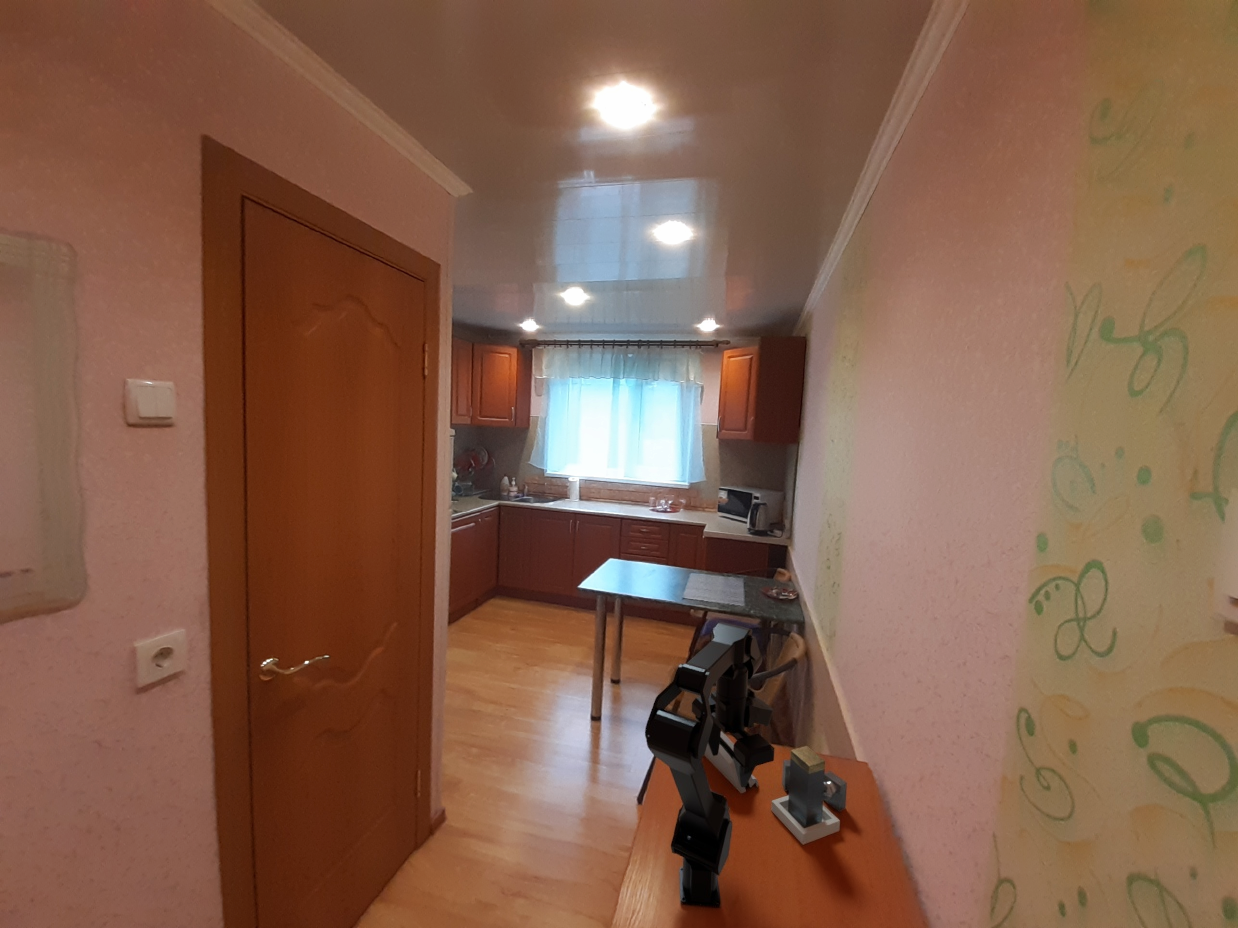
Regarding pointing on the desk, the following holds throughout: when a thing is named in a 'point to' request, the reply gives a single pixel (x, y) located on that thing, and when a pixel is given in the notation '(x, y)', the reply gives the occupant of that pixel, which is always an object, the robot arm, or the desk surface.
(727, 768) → the white electronic device
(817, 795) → the tan and grey block
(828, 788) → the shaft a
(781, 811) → the white square tray
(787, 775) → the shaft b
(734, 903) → the desk surface
